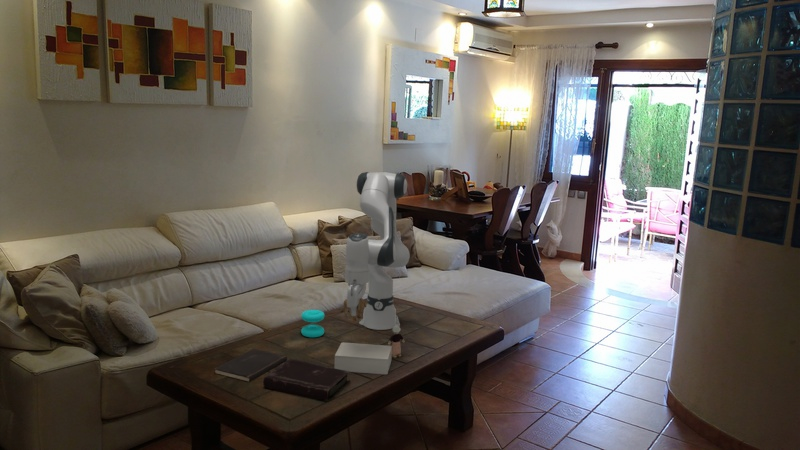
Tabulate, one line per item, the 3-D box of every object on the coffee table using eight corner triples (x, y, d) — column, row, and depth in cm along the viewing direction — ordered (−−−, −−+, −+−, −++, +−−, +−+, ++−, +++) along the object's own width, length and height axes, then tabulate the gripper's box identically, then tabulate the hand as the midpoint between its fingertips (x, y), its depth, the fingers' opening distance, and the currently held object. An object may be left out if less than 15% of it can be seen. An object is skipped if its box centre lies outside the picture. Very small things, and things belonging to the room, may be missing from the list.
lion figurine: (370, 319, 236) (368, 297, 234) (360, 324, 233) (358, 301, 230) (345, 311, 247) (343, 289, 244) (335, 315, 243) (333, 293, 241)
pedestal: (341, 356, 248) (341, 342, 247) (391, 360, 246) (392, 345, 245) (334, 370, 234) (334, 355, 233) (387, 374, 232) (387, 359, 231)
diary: (327, 404, 208) (327, 390, 207) (263, 390, 217) (262, 376, 216) (351, 382, 225) (351, 369, 224) (291, 370, 234) (291, 357, 233)
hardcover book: (214, 374, 228) (214, 368, 227) (253, 354, 248) (253, 348, 248) (249, 383, 221) (249, 377, 221) (287, 361, 242) (287, 356, 241)
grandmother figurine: (398, 352, 255) (399, 322, 253) (405, 355, 252) (406, 325, 250) (385, 356, 249) (386, 326, 247) (391, 359, 247) (392, 328, 244)
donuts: (300, 315, 265) (302, 308, 275) (299, 338, 267) (302, 330, 276) (323, 316, 265) (325, 309, 275) (323, 338, 267) (325, 330, 277)
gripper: (360, 284, 224) (359, 321, 226) (369, 271, 244) (368, 305, 246) (343, 283, 225) (342, 320, 227) (353, 270, 245) (352, 303, 247)
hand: (355, 312), depth 237 cm, fingers closed on lion figurine, 7 cm apart
